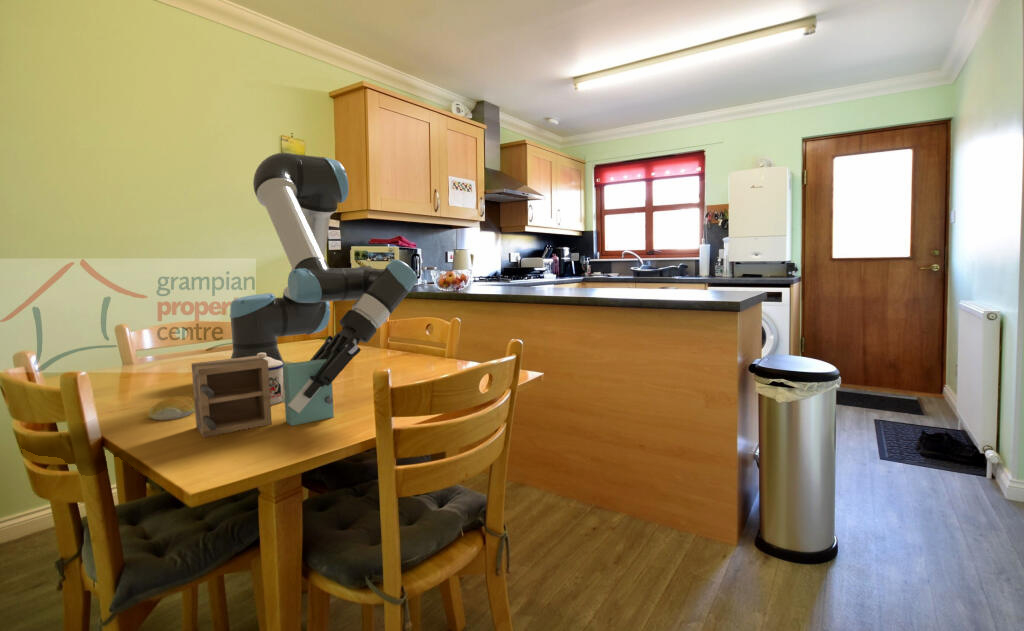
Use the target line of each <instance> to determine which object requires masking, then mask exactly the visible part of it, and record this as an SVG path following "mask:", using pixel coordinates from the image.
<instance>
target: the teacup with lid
mask: <svg viewBox="0 0 1024 631" xmlns="http://www.w3.org/2000/svg"><path fill="white" fill-rule="evenodd" d="M257 356H259V357H261V358H263V359H265V360H267V361H268V372H269V388H270V404H271V406H273V405H277V404H280V403H281V402H282V401H281V400H282V399H283V398H284V397H285V396H284V378H283V363H282V361H279V360H275V359H273V358H271V357H266V353H258V354H257ZM282 403H283V402H282Z"/></svg>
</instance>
